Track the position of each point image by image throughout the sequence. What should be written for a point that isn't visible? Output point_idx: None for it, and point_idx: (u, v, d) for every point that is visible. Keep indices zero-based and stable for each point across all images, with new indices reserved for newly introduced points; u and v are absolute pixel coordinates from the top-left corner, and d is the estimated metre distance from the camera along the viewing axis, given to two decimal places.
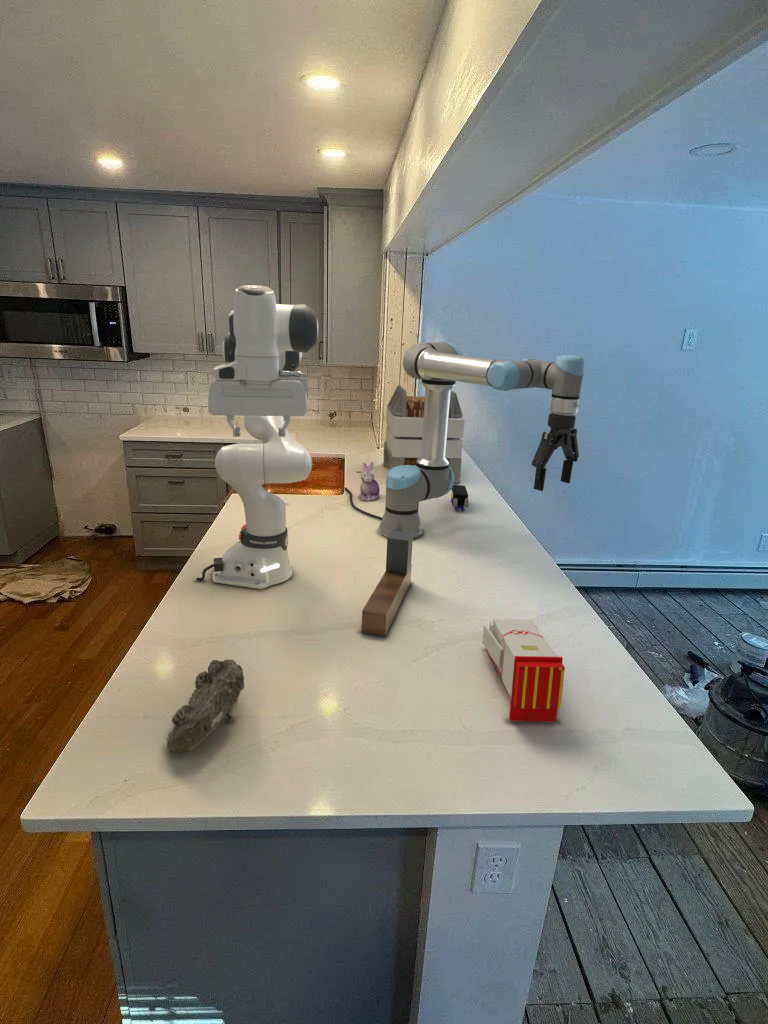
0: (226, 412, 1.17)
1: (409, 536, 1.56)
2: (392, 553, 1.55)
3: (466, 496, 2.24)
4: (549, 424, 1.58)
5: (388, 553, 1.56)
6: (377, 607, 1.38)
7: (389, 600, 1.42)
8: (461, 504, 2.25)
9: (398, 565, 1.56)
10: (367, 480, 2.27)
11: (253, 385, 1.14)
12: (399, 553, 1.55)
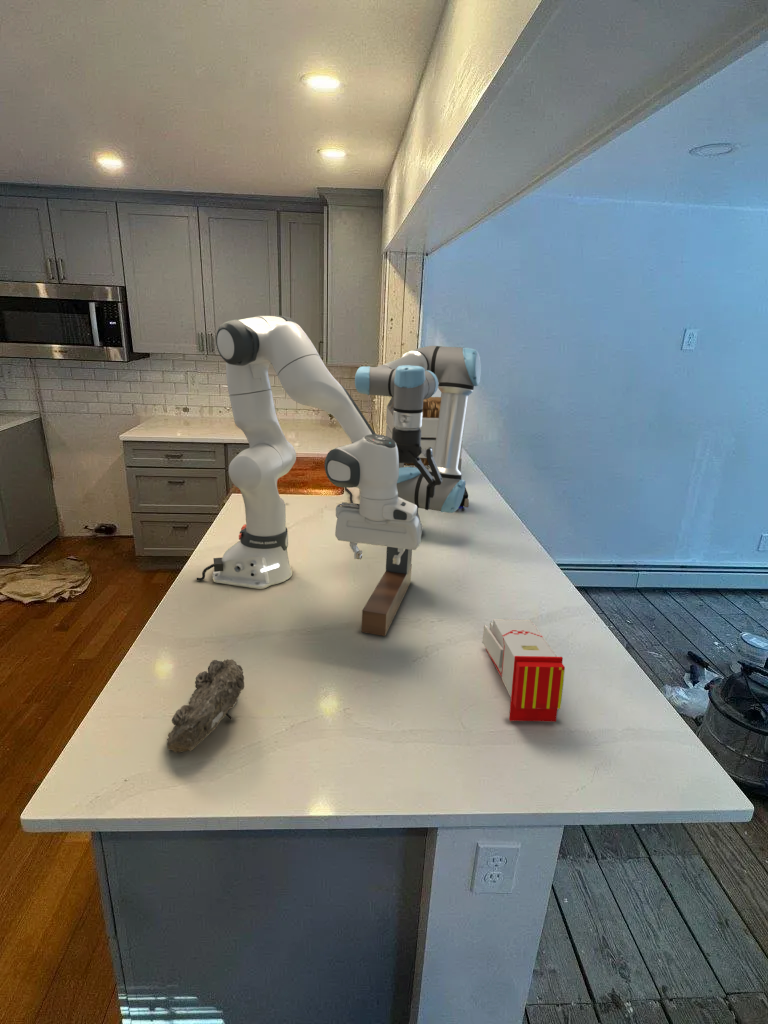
0: None
1: None
2: (392, 553, 1.55)
3: (466, 496, 2.24)
4: None
5: (388, 553, 1.56)
6: (377, 607, 1.38)
7: (389, 600, 1.42)
8: (461, 504, 2.25)
9: (398, 565, 1.56)
10: None
11: None
12: None
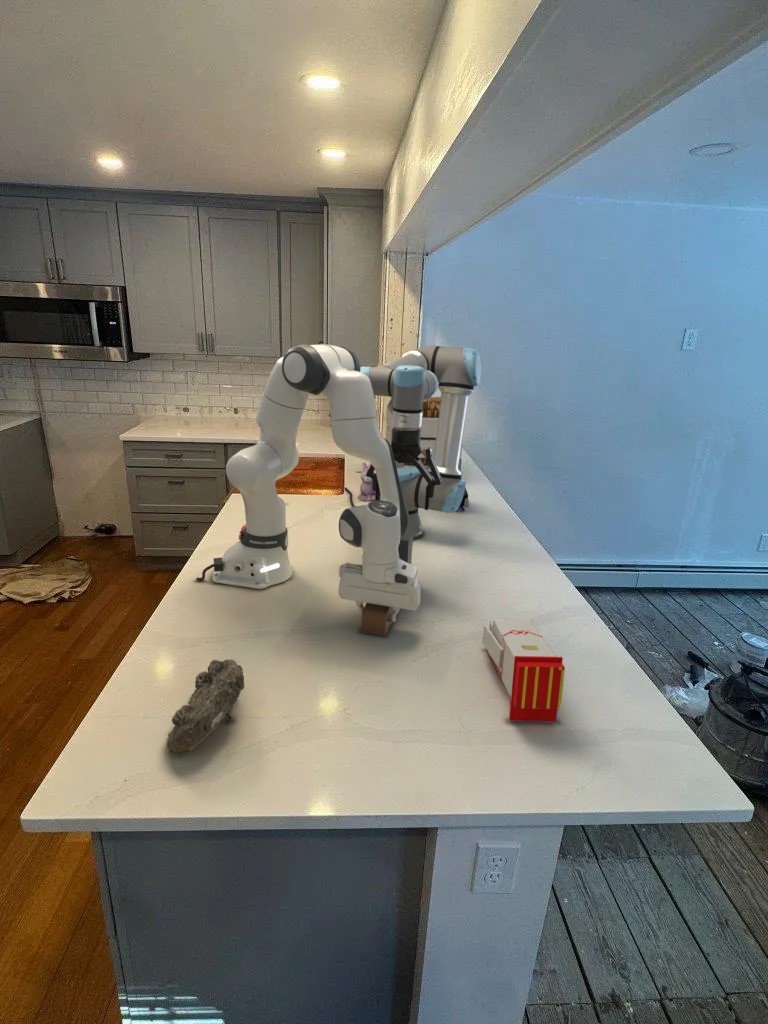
0: None
1: (409, 536, 1.56)
2: None
3: (466, 496, 2.24)
4: None
5: None
6: (377, 607, 1.38)
7: None
8: (461, 504, 2.25)
9: None
10: (367, 480, 2.27)
11: None
12: (399, 553, 1.55)
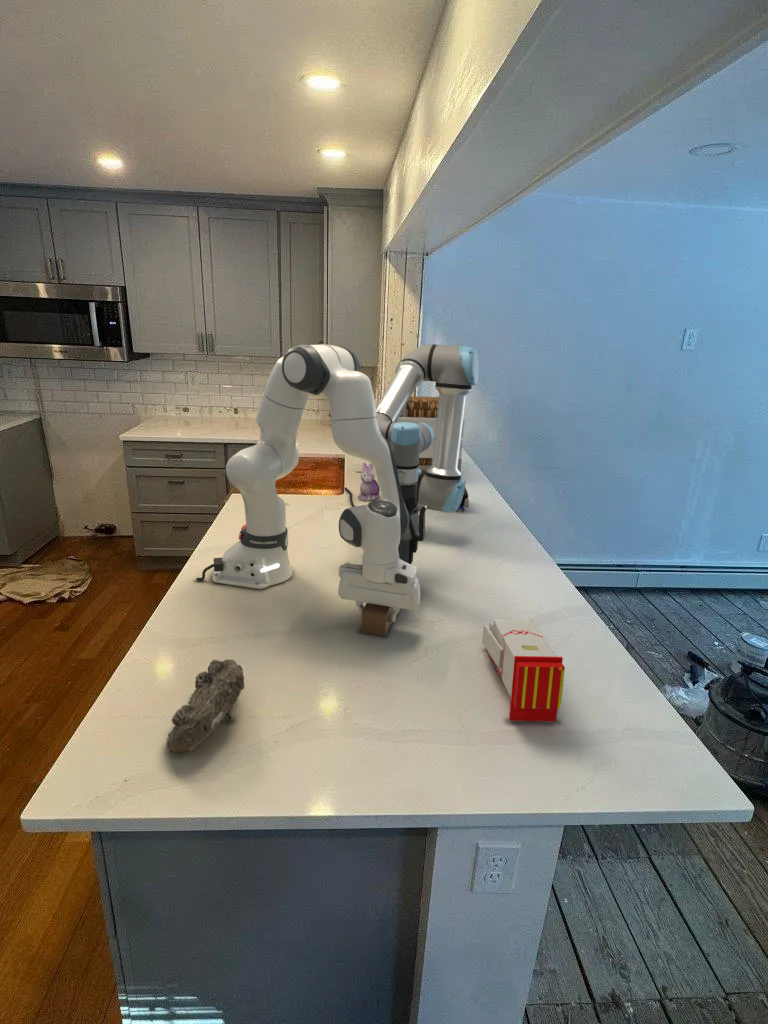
0: None
1: (409, 536, 1.56)
2: None
3: (466, 496, 2.24)
4: None
5: None
6: (377, 607, 1.38)
7: None
8: (461, 504, 2.25)
9: None
10: (367, 480, 2.27)
11: None
12: (399, 553, 1.55)
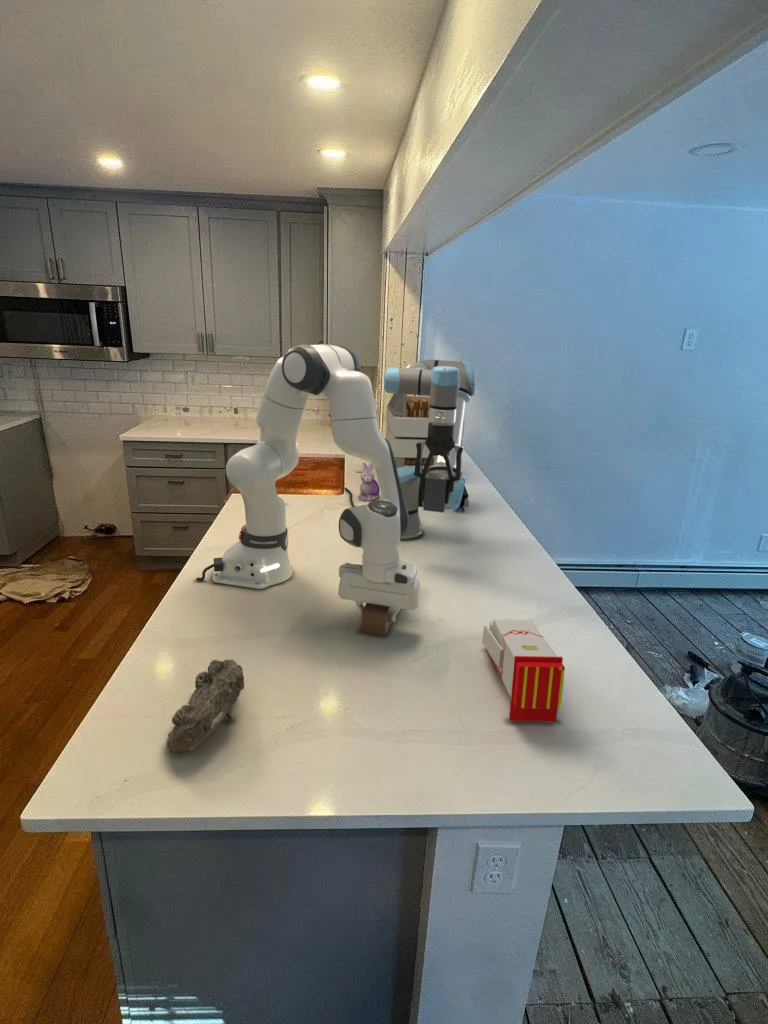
0: None
1: (446, 476, 1.64)
2: (429, 493, 1.64)
3: (466, 496, 2.24)
4: None
5: (426, 492, 1.64)
6: (377, 607, 1.38)
7: None
8: (461, 504, 2.25)
9: (435, 504, 1.65)
10: (367, 480, 2.27)
11: None
12: (436, 492, 1.63)
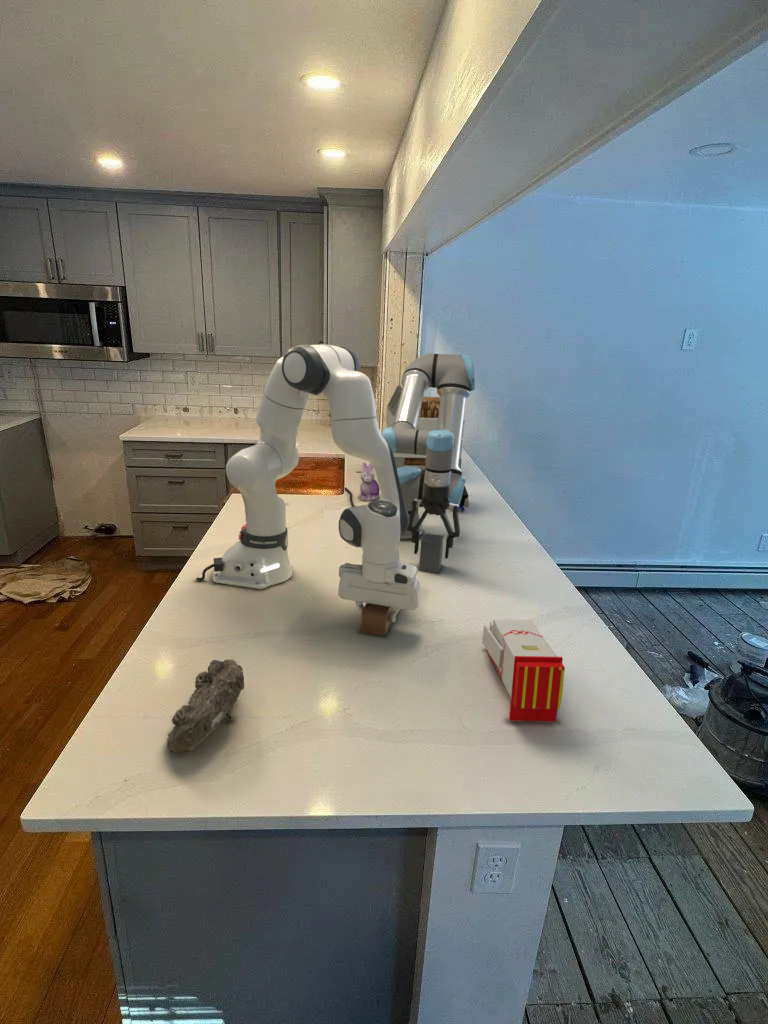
0: None
1: (440, 538, 1.71)
2: (425, 554, 1.71)
3: (466, 496, 2.24)
4: None
5: (421, 554, 1.71)
6: (377, 607, 1.38)
7: None
8: (461, 504, 2.25)
9: (430, 565, 1.71)
10: (367, 480, 2.27)
11: None
12: (432, 554, 1.70)
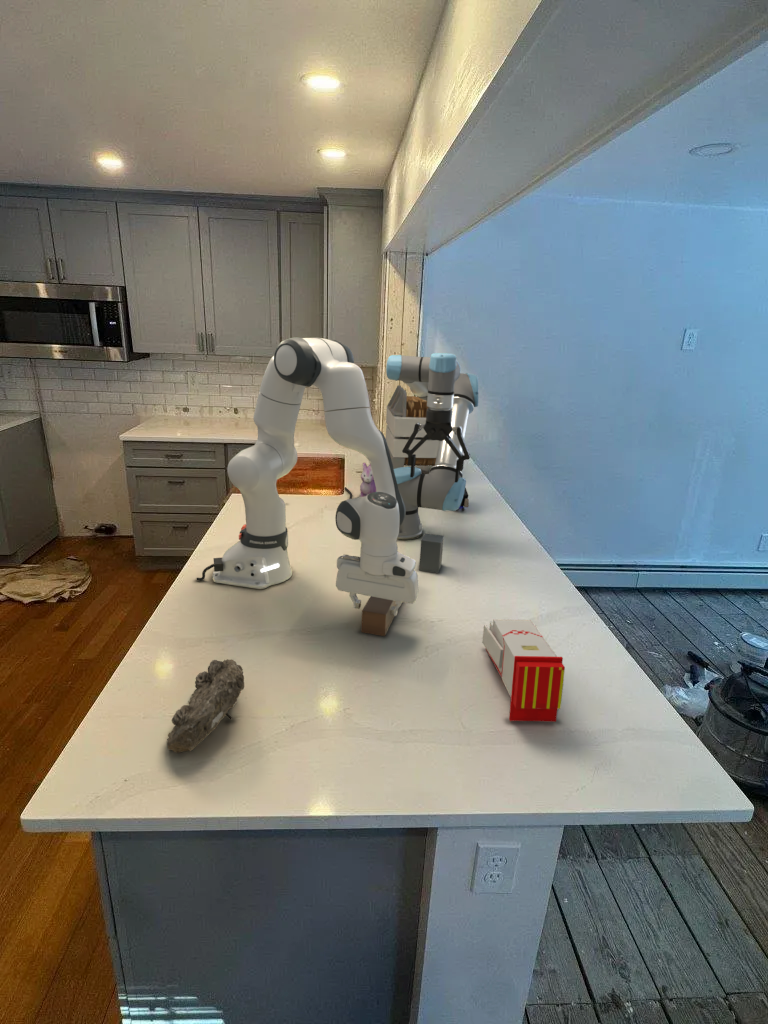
0: None
1: (440, 538, 1.71)
2: (425, 554, 1.71)
3: (466, 496, 2.24)
4: None
5: (421, 554, 1.71)
6: (377, 607, 1.38)
7: (388, 600, 1.42)
8: (461, 504, 2.25)
9: (430, 565, 1.71)
10: (367, 480, 2.27)
11: None
12: (432, 553, 1.70)
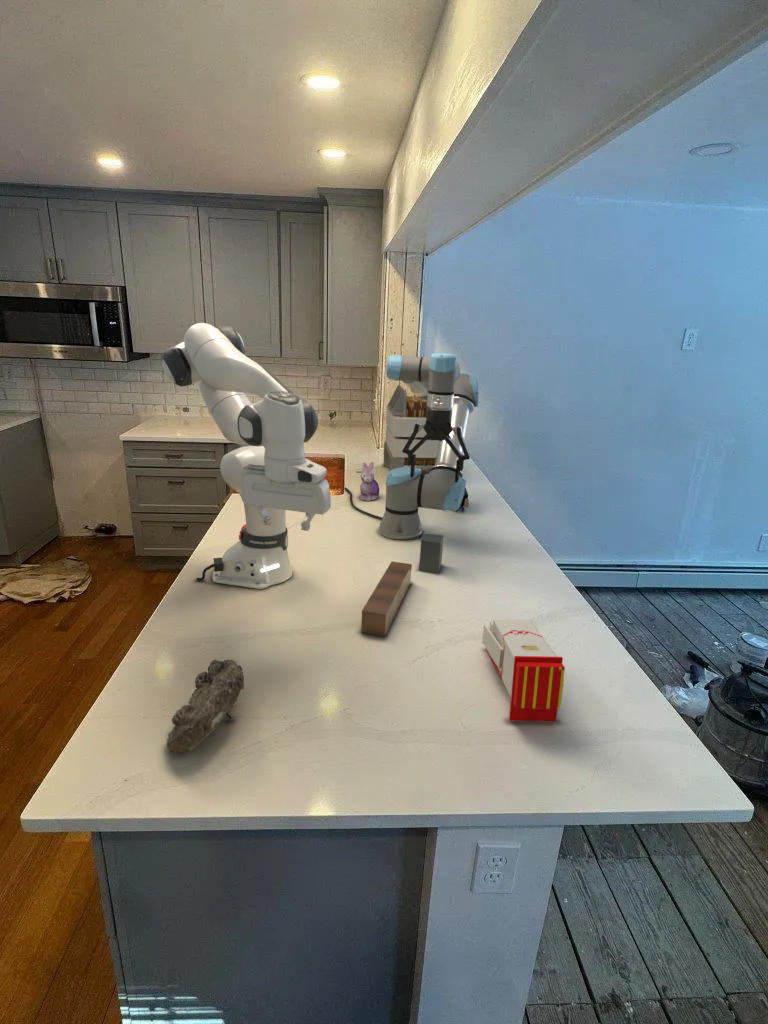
0: None
1: (440, 538, 1.71)
2: (425, 554, 1.71)
3: (466, 496, 2.24)
4: None
5: (421, 554, 1.71)
6: (377, 607, 1.38)
7: (388, 600, 1.42)
8: (461, 504, 2.25)
9: (430, 565, 1.71)
10: (367, 480, 2.27)
11: None
12: (432, 553, 1.70)
